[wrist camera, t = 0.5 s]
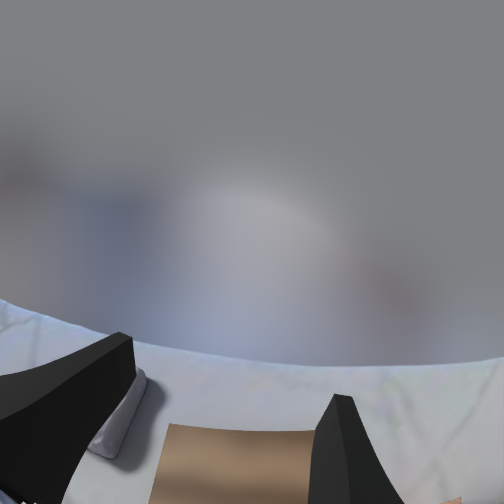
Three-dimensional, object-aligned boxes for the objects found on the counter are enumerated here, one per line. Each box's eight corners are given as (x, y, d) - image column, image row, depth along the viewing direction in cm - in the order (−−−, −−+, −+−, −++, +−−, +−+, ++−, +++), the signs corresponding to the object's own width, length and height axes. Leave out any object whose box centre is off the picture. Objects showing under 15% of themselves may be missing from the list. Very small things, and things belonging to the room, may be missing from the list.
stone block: (71, 443, 24) (120, 466, 21) (43, 423, 22) (87, 446, 19) (107, 375, 34) (158, 380, 31) (85, 352, 32) (134, 354, 28)
